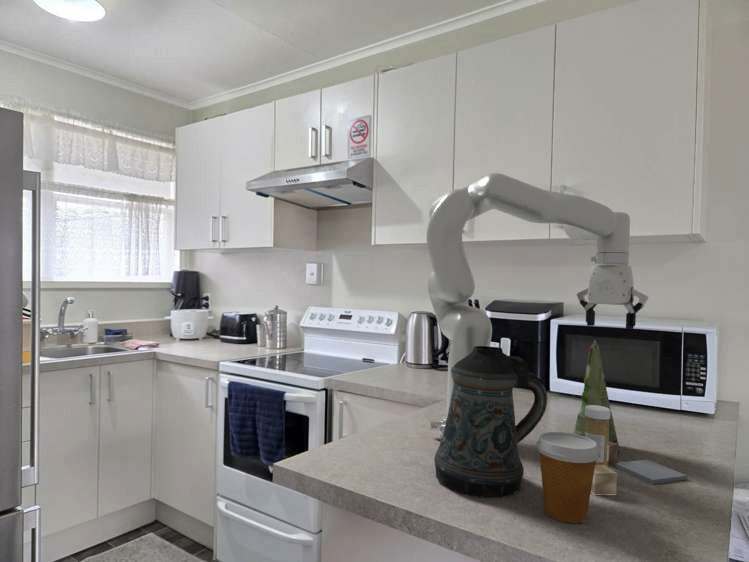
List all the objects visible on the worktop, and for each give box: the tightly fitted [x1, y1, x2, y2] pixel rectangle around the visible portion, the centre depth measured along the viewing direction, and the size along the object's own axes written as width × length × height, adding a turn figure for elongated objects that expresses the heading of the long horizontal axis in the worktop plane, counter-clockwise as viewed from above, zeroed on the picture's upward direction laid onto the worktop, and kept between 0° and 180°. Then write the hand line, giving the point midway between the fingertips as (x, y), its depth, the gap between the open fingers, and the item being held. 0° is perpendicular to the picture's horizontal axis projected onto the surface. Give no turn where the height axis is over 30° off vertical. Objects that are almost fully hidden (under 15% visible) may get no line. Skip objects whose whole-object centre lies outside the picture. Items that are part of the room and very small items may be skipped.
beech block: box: [591, 465, 618, 496], centre depth 88 cm, size 4×4×4 cm
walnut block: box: [608, 442, 618, 467], centre depth 103 cm, size 4×4×4 cm
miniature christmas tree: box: [573, 339, 620, 453], centre depth 113 cm, size 11×12×25 cm
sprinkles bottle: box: [585, 405, 611, 468], centre depth 95 cm, size 5×5×14 cm
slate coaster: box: [614, 459, 688, 485], centre depth 97 cm, size 9×9×1 cm
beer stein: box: [433, 346, 548, 499], centre depth 91 cm, size 16×19×25 cm
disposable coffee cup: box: [535, 431, 600, 524], centre depth 78 cm, size 10×10×12 cm
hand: (609, 327), depth 123 cm, fingers open, 9 cm apart
